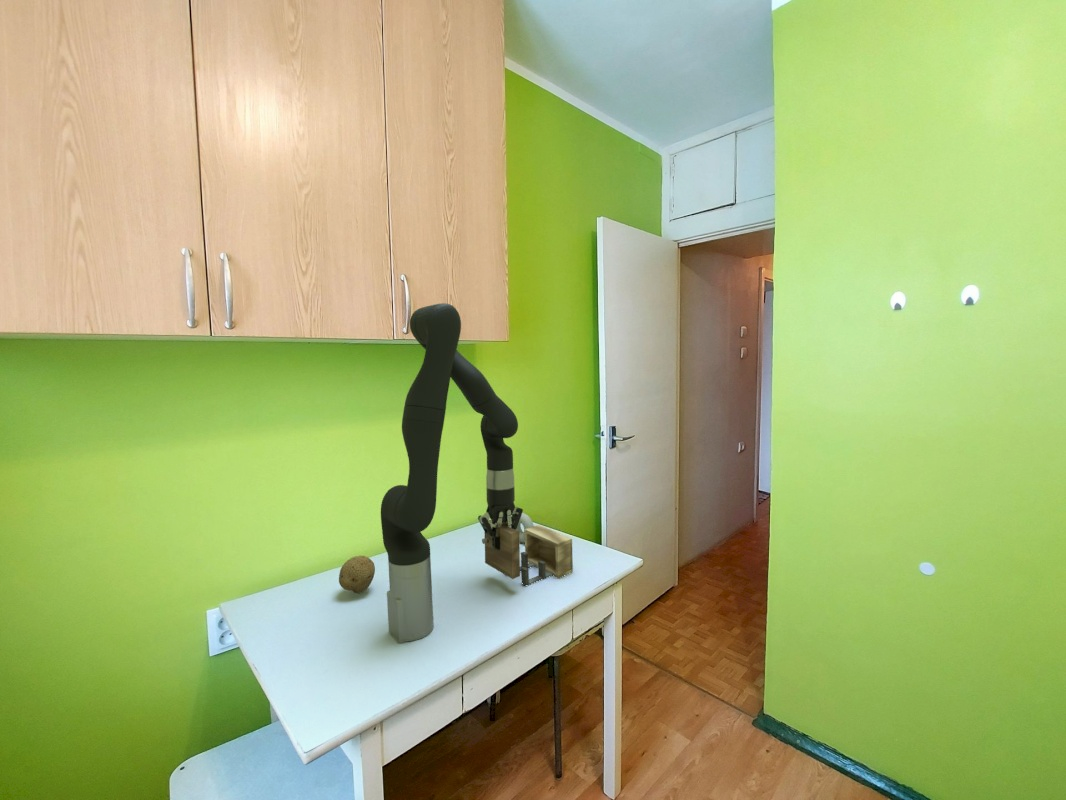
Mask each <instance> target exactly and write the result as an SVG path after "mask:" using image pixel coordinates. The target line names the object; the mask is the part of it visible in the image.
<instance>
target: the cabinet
mask: <svg viewBox="0 0 1066 800" xmlns="http://www.w3.org/2000/svg"><path fill="white" fill-rule="evenodd" d="M573 559H574V558H573V538H571V537H569V536H566V535H564V534H561V533H560V532H557V531H555V530H552V529H550V528H547V527H545V526H542V525H540V524H538V525H534V527H530V528H527V529H525V543H524V551H522V552H521V551H520V571H521V572H520V577H521V578H520V579H521V584H522V583H523V584H524V585H523V584H522V585H523V586H525V585H528V586H530V585H532V584H531V583H533V584H535V583H537V582H536V581H538V582H540V581H542V580H541V579H543V580H545V579H547V578H546V577H548V578H549V576H550V577H552V576H553V575H554V576H553V577H555V578H556V577H557V578H556V579H558V578H559V579H561V578H563V577H565V576H564V575H566V576H568V575H570V574H569V573H571V574H573V573H574V571H573V570H574V566H573V565H574V564H573V561H574V560H573ZM528 562H529V563H528ZM533 566H534V567H536V568H537V567H538V568H537V570H538V574H537V575H536V576H534V577H531V578H530V575H529V574H530V571H529V570H530V569H531V568H533ZM530 567H531V568H530ZM528 568H529V569H528ZM572 572H573V573H572ZM567 574H568V575H567ZM551 575H552V576H551ZM562 576H563V577H562ZM560 577H561V578H560ZM544 578H545V579H544ZM539 580H540V581H539ZM534 582H535V583H534ZM529 584H530V585H529Z"/></svg>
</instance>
